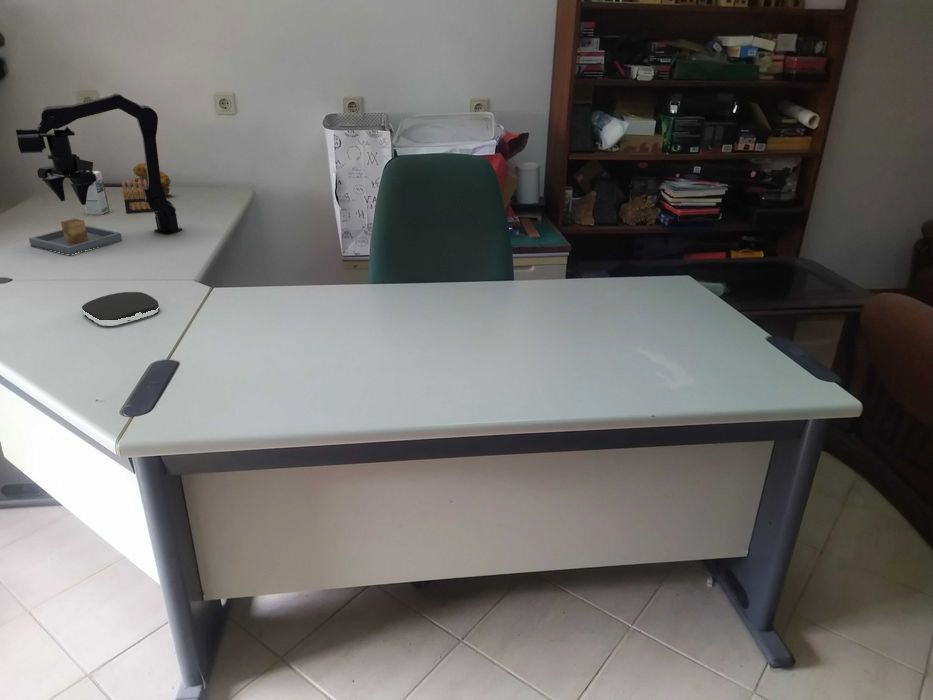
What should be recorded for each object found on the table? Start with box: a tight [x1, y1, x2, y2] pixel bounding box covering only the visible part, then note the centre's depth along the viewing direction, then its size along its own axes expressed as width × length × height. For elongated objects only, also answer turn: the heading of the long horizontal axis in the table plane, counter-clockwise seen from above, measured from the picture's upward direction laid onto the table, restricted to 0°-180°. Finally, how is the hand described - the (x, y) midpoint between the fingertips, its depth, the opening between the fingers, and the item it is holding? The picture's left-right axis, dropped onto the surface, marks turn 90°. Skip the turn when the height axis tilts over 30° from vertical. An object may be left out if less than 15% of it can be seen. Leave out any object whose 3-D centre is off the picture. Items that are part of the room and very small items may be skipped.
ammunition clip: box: [121, 178, 157, 215], centre depth 238 cm, size 11×2×12 cm, turn 113°
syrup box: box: [83, 170, 111, 216], centre depth 235 cm, size 6×6×14 cm
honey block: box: [60, 218, 88, 244], centre depth 205 cm, size 4×4×6 cm
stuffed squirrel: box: [131, 162, 171, 197], centre depth 258 cm, size 10×14×13 cm
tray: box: [28, 224, 123, 256], centre depth 206 cm, size 18×18×2 cm
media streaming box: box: [81, 291, 160, 320], centre depth 161 cm, size 15×15×3 cm
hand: (73, 202), depth 204 cm, fingers open, 9 cm apart
